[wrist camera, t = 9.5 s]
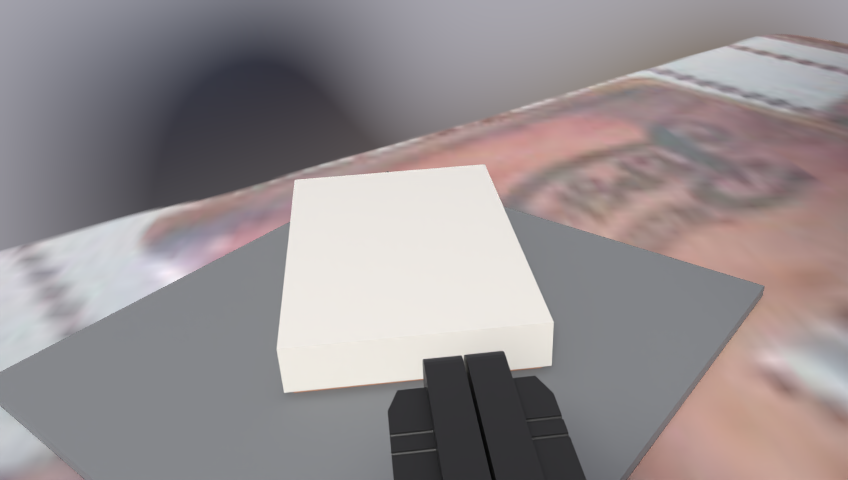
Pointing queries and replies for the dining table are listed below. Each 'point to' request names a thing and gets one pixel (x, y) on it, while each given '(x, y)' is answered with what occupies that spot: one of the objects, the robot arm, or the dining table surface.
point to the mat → (367, 405)
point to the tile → (403, 279)
